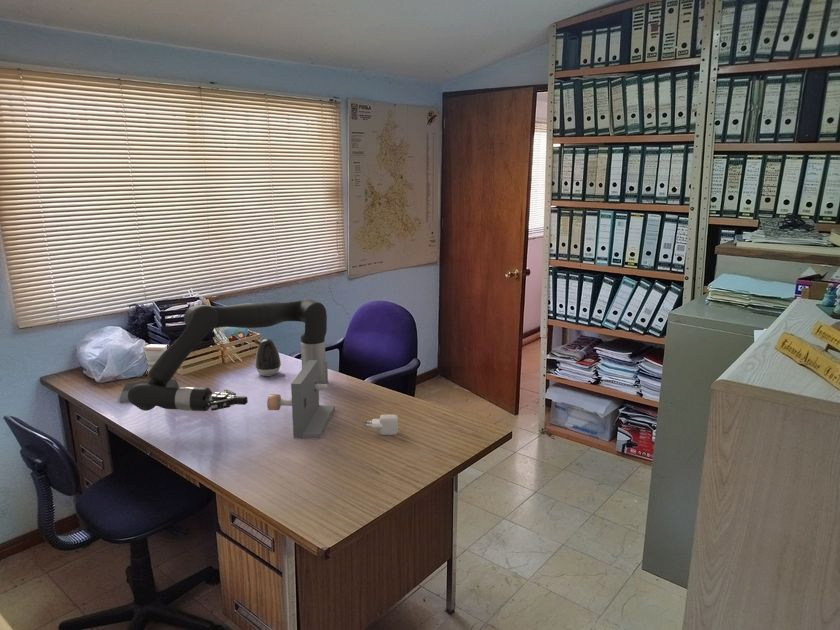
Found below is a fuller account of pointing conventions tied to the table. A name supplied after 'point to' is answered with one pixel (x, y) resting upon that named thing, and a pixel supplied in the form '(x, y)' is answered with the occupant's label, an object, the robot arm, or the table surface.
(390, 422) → the power adapter
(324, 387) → the cream knob
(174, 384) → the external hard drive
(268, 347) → the dark grey tapered speaker
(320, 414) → the knob mount
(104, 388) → the table surface
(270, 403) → the terracotta knob
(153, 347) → the ink box
